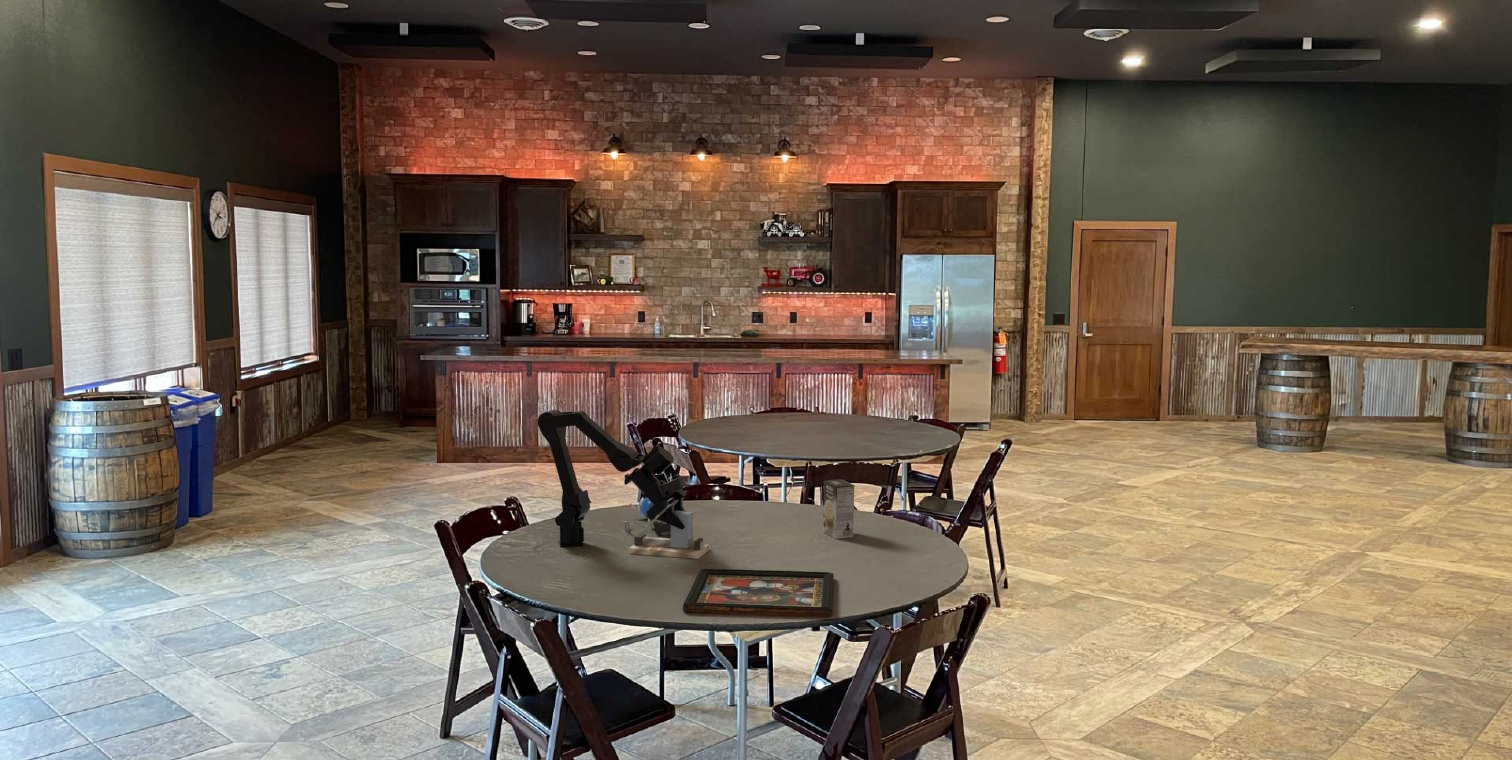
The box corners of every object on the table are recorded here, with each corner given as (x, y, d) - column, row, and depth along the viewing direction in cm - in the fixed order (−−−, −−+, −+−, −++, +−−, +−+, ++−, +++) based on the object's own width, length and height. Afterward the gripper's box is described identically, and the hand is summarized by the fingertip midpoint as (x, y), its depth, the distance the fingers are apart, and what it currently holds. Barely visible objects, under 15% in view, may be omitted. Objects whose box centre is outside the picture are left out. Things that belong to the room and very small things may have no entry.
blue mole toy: (632, 513, 345) (632, 488, 344) (668, 514, 345) (668, 488, 344) (626, 522, 333) (626, 496, 332) (663, 522, 333) (663, 496, 332)
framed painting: (831, 575, 278) (831, 565, 278) (847, 620, 243) (847, 608, 243) (686, 576, 277) (686, 565, 277) (682, 621, 242) (681, 609, 242)
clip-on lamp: (623, 545, 317) (682, 533, 316) (618, 525, 316) (677, 513, 315) (629, 532, 329) (685, 520, 328) (623, 513, 328) (680, 500, 326)
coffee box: (822, 532, 322) (822, 480, 321) (840, 530, 325) (841, 478, 323) (835, 539, 314) (835, 485, 312) (854, 537, 316) (855, 484, 314)
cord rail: (628, 553, 297) (628, 539, 296) (641, 544, 307) (641, 530, 307) (698, 559, 292) (698, 544, 291) (709, 549, 302) (709, 535, 301)
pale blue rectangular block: (670, 546, 297) (670, 514, 296) (676, 542, 301) (676, 510, 300) (687, 548, 295) (687, 515, 294) (693, 543, 300) (692, 511, 299)
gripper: (657, 472, 288) (695, 515, 286) (679, 460, 306) (715, 500, 304) (630, 499, 291) (668, 541, 289) (653, 486, 309) (689, 525, 307)
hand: (686, 526), depth 297 cm, fingers closed on pale blue rectangular block, 5 cm apart
